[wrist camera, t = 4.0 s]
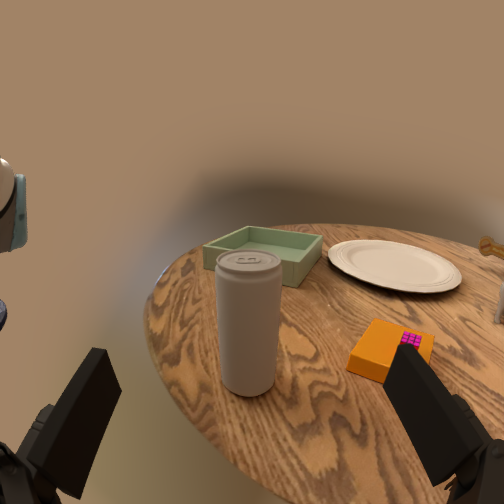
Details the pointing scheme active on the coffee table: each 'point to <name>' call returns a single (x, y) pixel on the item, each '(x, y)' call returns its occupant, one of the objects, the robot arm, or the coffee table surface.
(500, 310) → the grey stone animal figure
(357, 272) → the plate
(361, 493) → the coffee table surface
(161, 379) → the coffee table surface
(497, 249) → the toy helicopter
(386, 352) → the orange square platform
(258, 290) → the beverage can
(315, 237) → the tray
